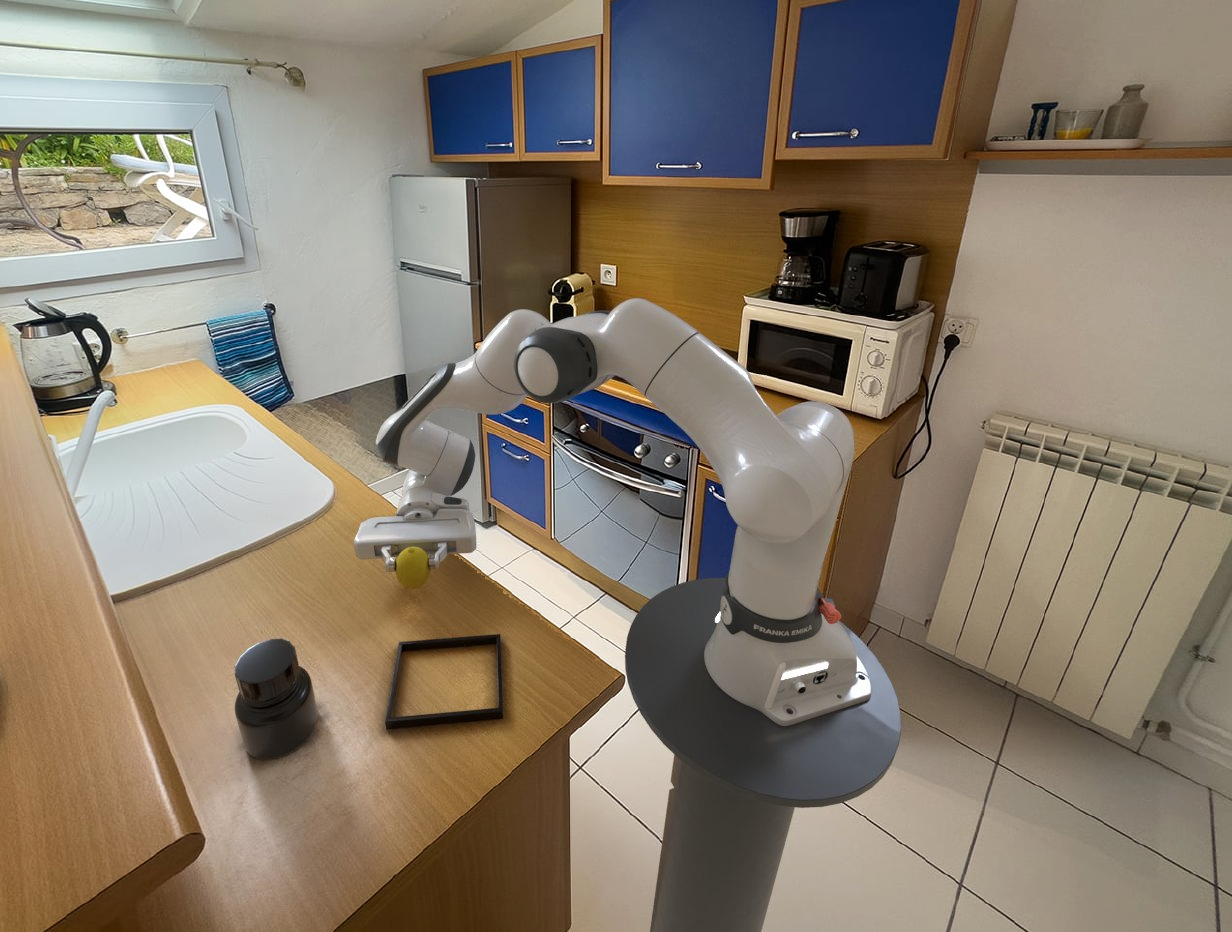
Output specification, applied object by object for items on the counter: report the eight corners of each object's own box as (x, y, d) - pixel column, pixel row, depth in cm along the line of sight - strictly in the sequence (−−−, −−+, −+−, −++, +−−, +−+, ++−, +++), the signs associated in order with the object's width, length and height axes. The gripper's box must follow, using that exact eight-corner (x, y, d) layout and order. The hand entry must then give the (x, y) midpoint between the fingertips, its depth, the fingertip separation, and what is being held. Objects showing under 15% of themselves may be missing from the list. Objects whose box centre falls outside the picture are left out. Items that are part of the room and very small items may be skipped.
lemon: (407, 573, 98) (402, 535, 95) (438, 578, 97) (433, 539, 94) (392, 596, 93) (386, 557, 90) (424, 602, 92) (419, 562, 89)
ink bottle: (322, 689, 80) (309, 623, 76) (322, 746, 73) (307, 677, 68) (244, 711, 77) (225, 643, 73) (236, 773, 70) (214, 702, 65)
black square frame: (500, 641, 89) (500, 633, 88) (503, 718, 77) (503, 711, 76) (399, 649, 87) (398, 641, 86) (385, 730, 75) (384, 721, 74)
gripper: (360, 504, 102) (342, 555, 90) (476, 498, 104) (475, 547, 92) (364, 533, 105) (347, 587, 92) (477, 527, 107) (476, 578, 94)
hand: (412, 567), depth 92 cm, fingers closed on lemon, 5 cm apart
